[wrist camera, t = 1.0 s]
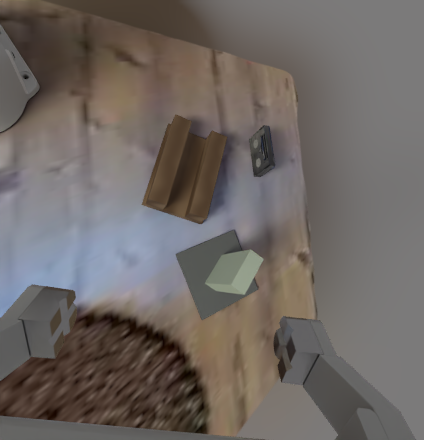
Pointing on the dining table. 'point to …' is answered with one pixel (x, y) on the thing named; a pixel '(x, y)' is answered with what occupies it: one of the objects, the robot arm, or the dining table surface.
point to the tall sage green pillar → (234, 272)
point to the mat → (201, 269)
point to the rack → (185, 172)
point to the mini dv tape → (262, 151)
